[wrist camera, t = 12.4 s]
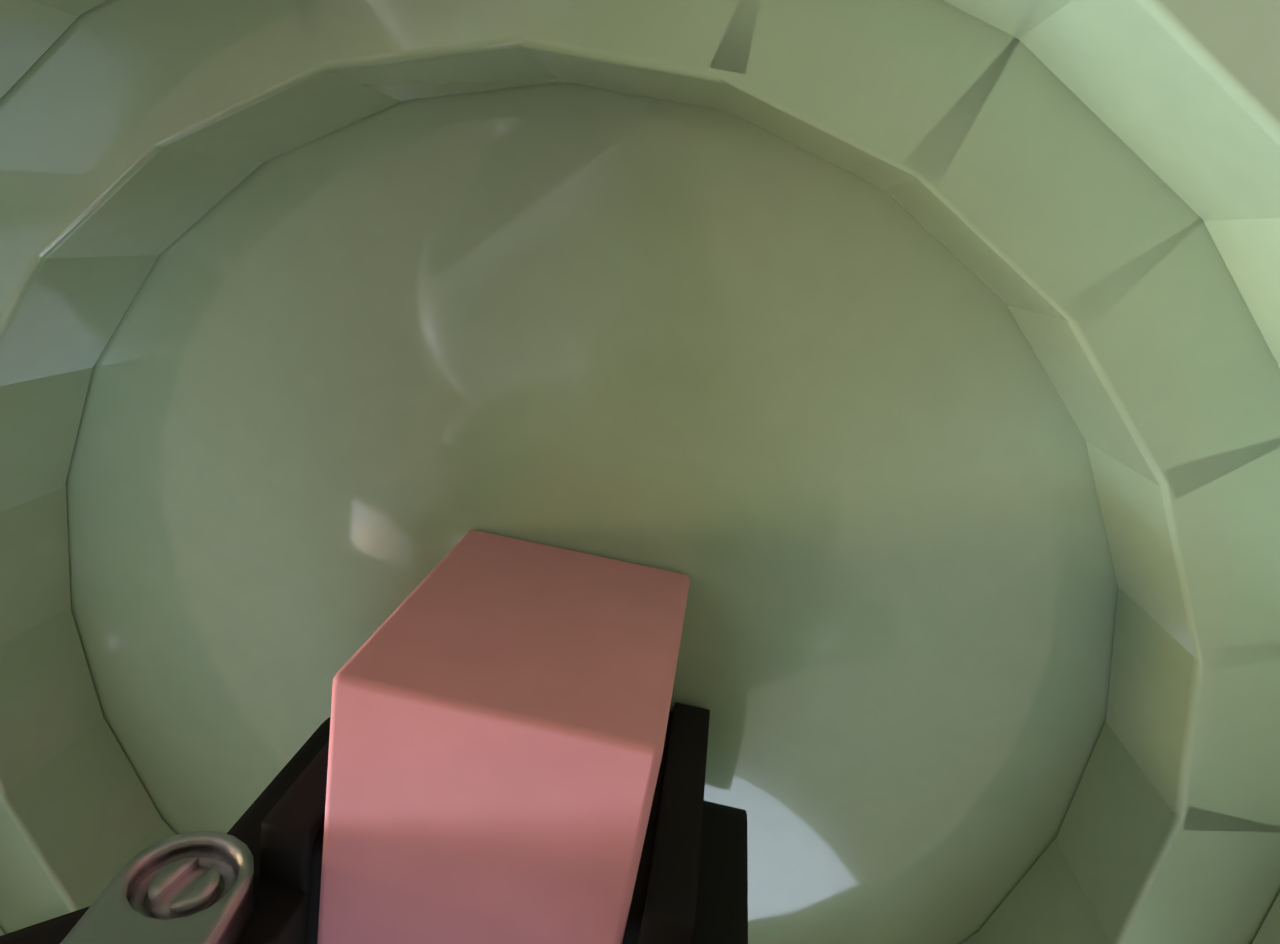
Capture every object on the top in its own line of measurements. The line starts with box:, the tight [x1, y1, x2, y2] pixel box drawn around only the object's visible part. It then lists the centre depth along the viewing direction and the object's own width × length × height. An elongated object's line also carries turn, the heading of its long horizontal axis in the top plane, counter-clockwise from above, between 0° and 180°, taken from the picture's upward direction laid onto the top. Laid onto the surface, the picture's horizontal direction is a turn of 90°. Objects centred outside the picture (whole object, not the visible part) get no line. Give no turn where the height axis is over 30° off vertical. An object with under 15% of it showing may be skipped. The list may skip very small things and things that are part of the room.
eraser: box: [317, 530, 690, 944], centre depth 10 cm, size 7×3×4 cm, turn 170°
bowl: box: [0, 0, 1280, 944], centre depth 10 cm, size 19×19×4 cm
